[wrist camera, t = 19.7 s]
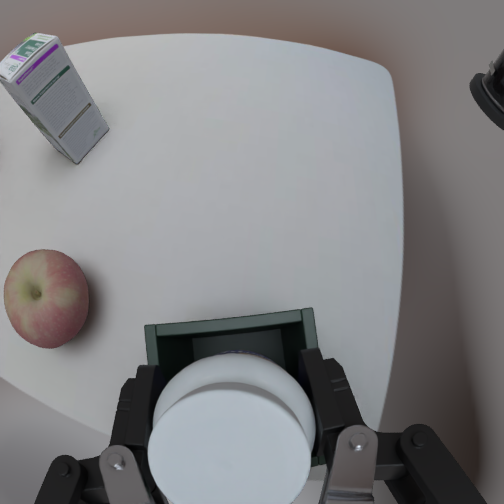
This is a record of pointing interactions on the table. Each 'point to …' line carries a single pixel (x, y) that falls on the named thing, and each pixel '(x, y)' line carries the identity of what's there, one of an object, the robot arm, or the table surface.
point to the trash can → (234, 342)
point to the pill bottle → (232, 433)
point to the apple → (46, 298)
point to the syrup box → (53, 95)
